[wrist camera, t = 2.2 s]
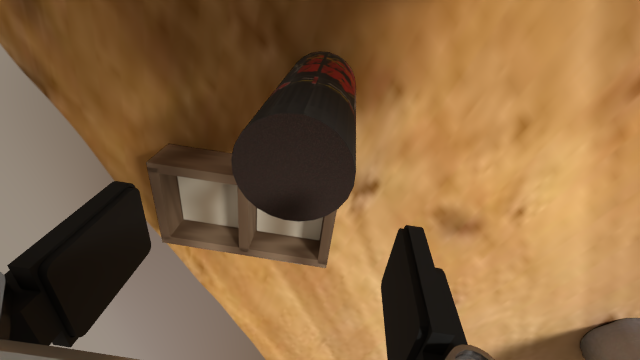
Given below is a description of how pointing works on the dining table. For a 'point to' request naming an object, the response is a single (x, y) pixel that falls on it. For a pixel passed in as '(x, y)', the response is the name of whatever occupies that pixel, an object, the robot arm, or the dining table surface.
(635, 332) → the pillar candle
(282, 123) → the deodorant
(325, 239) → the divided compartment tray
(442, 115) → the dining table surface
